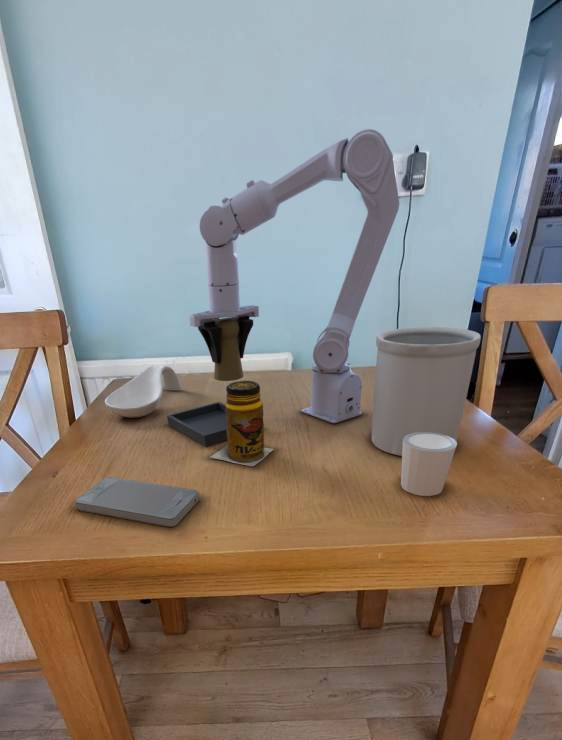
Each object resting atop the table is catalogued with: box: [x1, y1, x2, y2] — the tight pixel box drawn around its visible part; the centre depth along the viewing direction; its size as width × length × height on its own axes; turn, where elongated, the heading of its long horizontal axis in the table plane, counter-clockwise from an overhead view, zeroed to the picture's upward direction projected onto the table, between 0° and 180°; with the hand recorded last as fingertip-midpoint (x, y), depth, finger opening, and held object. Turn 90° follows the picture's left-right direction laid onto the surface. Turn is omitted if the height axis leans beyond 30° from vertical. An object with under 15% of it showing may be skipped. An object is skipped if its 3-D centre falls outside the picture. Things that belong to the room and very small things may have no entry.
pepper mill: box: [213, 319, 244, 382], centre depth 91 cm, size 6×6×11 cm
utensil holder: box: [371, 326, 482, 457], centre depth 75 cm, size 15×15×18 cm
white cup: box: [400, 432, 458, 497], centre depth 64 cm, size 7×7×7 cm
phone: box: [75, 476, 200, 528], centre depth 65 cm, size 8×16×1 cm, turn 68°
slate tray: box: [166, 401, 227, 448], centre depth 89 cm, size 14×12×2 cm
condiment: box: [209, 380, 274, 467], centre depth 75 cm, size 7×8×12 cm
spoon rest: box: [104, 364, 182, 419], centre depth 102 cm, size 24×12×7 cm, turn 162°
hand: (228, 359), depth 92 cm, fingers closed on pepper mill, 5 cm apart
